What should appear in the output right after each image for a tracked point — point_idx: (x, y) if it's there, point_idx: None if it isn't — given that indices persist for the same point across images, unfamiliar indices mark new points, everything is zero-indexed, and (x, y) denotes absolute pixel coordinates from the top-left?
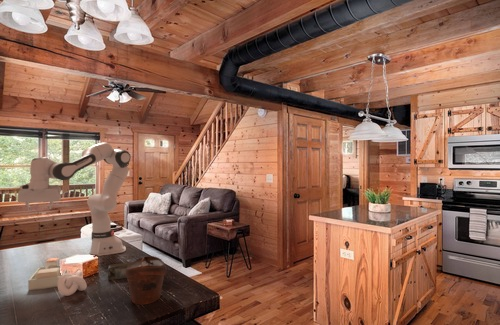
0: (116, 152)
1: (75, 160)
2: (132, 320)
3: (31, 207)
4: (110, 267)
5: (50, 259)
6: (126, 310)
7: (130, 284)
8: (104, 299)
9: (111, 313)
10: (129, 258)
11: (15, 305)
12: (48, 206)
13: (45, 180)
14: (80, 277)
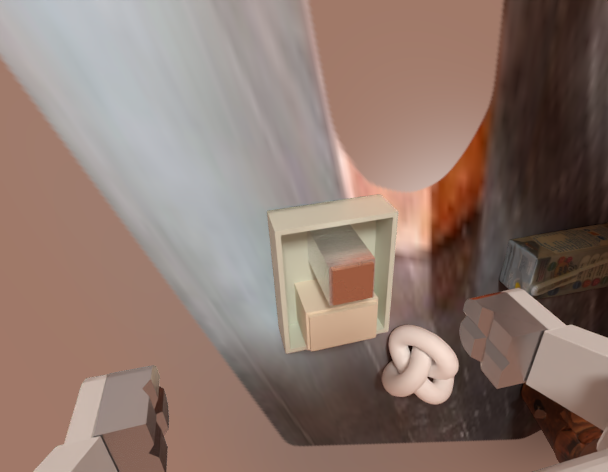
0: None
1: None
2: (503, 439)
3: (154, 420)
4: (535, 295)
5: (345, 283)
6: (503, 415)
7: (548, 441)
8: (473, 380)
9: (477, 424)
10: None
11: (281, 398)
12: (509, 381)
13: None
14: (450, 392)
